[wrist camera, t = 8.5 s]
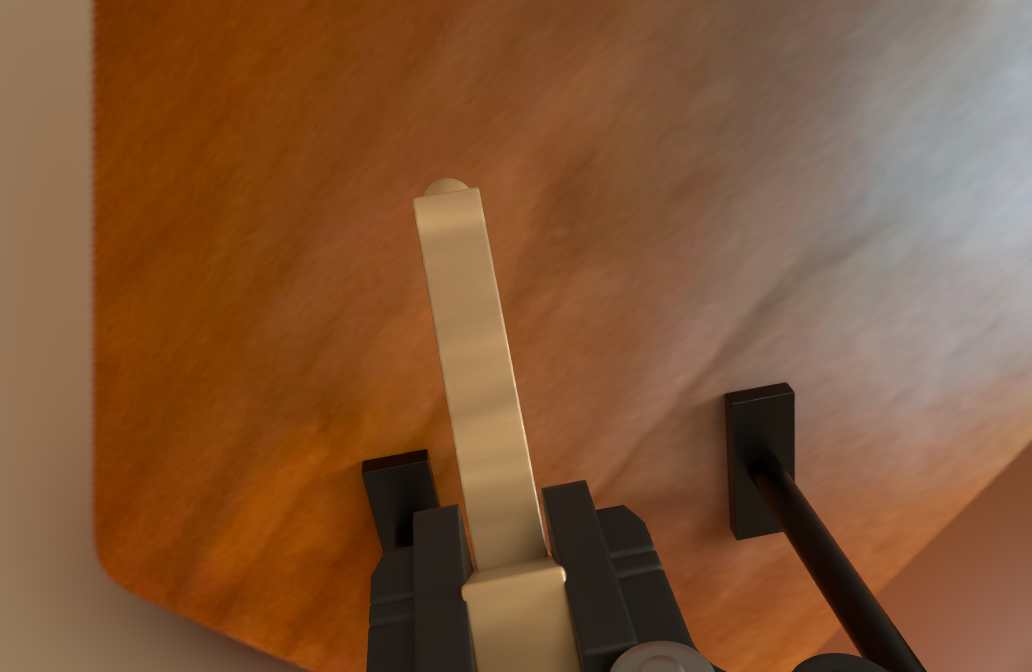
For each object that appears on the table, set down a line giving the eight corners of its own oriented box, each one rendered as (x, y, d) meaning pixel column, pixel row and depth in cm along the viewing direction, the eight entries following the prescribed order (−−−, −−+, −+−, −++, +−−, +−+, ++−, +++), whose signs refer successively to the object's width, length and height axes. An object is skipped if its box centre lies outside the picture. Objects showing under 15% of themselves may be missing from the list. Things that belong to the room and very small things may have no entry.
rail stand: (362, 460, 40) (334, 813, 24) (786, 381, 40) (1029, 671, 25) (397, 592, 43) (394, 976, 27) (787, 517, 44) (1000, 847, 28)
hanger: (377, 98, 13) (587, 1343, 10) (471, 82, 13) (709, 1316, 10) (463, 359, 34) (536, 770, 31) (498, 353, 34) (574, 762, 31)
